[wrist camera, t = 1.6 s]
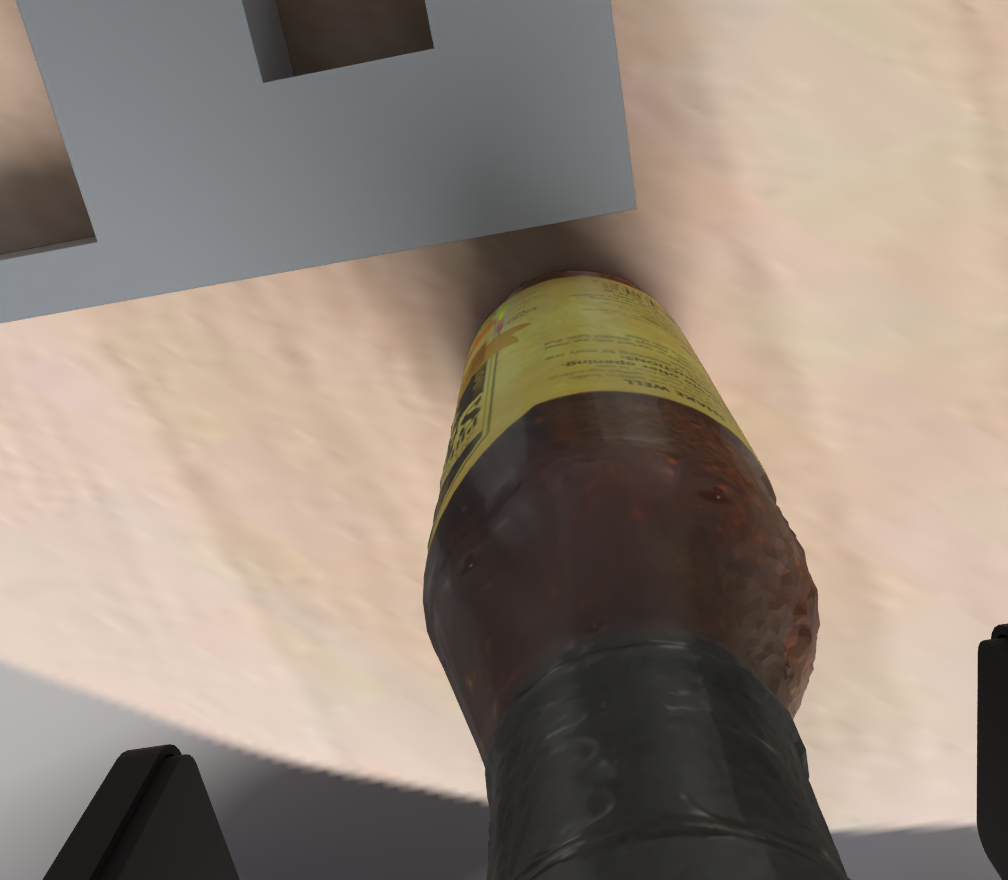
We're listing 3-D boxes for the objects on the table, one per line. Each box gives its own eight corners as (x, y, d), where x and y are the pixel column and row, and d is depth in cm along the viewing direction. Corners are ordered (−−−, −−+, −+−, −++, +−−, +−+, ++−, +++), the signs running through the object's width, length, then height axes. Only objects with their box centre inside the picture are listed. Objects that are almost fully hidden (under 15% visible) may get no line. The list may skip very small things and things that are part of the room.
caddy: (549, -385, 19) (552, -469, 16) (624, 196, 23) (636, 208, 21) (-383, -155, 21) (-522, -194, 19) (-158, 338, 26) (-243, 367, 23)
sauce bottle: (444, 289, 25) (160, 853, 6) (666, 239, 24) (1117, 706, 5) (497, 497, 27) (410, 1379, 8) (701, 457, 26) (1107, 1321, 8)
